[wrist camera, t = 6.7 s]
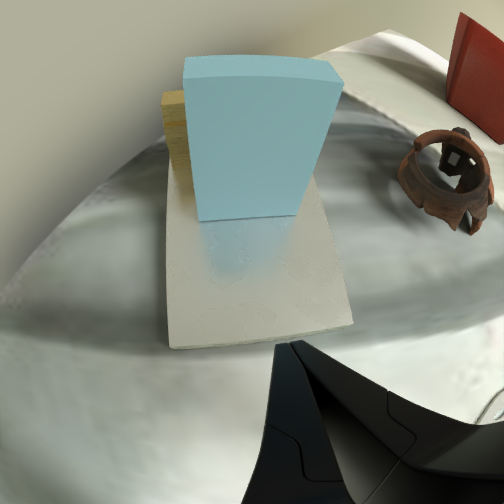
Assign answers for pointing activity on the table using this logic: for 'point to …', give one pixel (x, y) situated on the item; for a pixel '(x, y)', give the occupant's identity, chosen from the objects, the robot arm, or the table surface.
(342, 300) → the block holder base
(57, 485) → the table surface
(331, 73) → the clip bar
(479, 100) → the plant pot
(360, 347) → the table surface
